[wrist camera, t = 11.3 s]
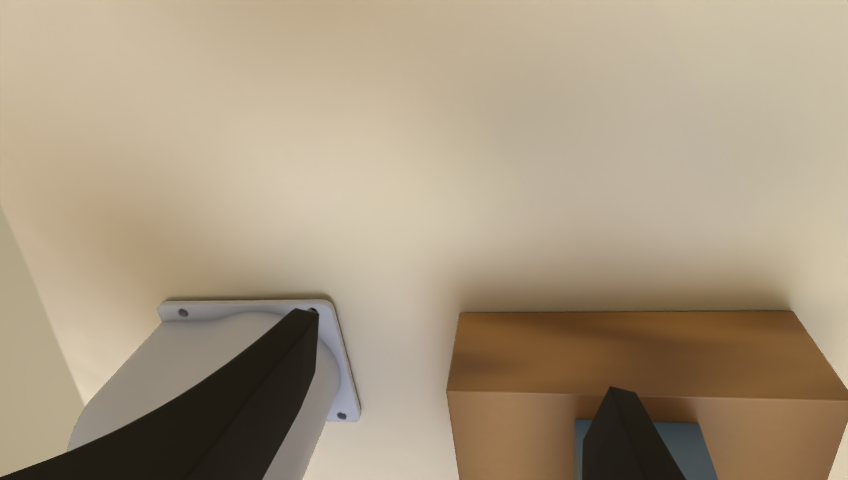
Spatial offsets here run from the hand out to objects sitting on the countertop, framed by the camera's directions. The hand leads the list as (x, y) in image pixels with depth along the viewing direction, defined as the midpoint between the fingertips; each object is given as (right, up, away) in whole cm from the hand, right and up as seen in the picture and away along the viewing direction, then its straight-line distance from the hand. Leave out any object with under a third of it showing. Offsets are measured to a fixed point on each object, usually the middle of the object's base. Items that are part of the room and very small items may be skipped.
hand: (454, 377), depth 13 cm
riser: (+9, -8, +15) cm, 20 cm away
